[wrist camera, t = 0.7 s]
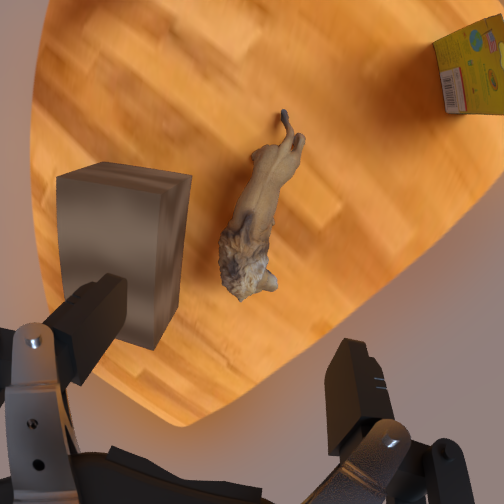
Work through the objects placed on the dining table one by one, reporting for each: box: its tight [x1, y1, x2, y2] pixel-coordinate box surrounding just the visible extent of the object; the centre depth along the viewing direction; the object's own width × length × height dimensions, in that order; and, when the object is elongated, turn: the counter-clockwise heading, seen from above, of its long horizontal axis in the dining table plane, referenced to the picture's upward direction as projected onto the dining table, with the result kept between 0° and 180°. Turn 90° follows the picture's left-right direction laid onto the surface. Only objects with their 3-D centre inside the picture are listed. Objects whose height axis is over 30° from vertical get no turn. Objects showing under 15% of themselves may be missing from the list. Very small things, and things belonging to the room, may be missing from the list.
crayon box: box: [433, 13, 504, 115], centre depth 16 cm, size 7×3×12 cm, turn 10°
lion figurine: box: [218, 109, 305, 302], centre depth 25 cm, size 15×5×9 cm, turn 169°
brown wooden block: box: [56, 162, 192, 351], centre depth 29 cm, size 15×10×8 cm, turn 169°
